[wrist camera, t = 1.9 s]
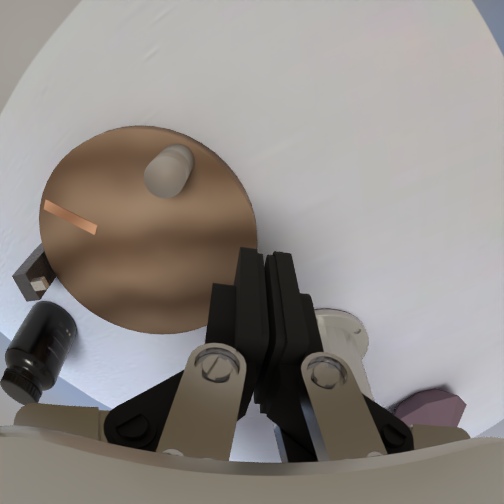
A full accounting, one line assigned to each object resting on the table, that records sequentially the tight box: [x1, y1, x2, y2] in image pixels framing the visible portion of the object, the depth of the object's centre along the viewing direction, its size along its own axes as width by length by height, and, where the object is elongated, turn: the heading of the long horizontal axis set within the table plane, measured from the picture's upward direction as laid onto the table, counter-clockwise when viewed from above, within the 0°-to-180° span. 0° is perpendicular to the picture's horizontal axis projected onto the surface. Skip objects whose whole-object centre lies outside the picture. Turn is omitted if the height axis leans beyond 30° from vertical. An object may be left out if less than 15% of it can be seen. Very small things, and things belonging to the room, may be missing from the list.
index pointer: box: [12, 243, 56, 301], centre depth 27 cm, size 3×4×6 cm
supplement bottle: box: [0, 302, 76, 405], centre depth 29 cm, size 7×7×12 cm
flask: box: [393, 389, 466, 427], centre depth 38 cm, size 16×16×20 cm
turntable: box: [39, 126, 257, 334], centre depth 25 cm, size 20×20×6 cm
